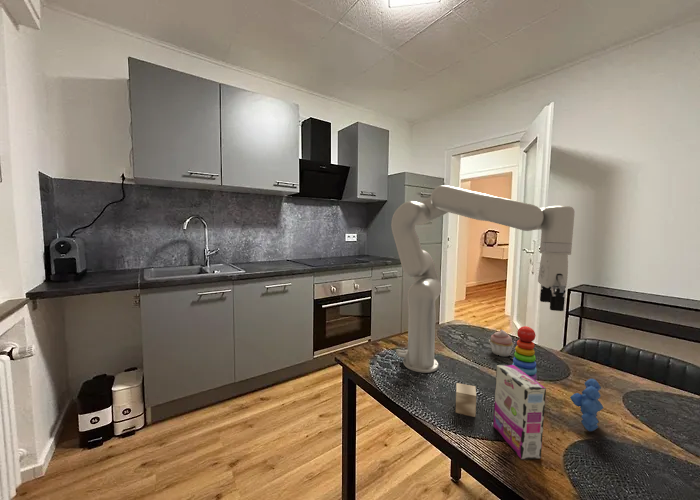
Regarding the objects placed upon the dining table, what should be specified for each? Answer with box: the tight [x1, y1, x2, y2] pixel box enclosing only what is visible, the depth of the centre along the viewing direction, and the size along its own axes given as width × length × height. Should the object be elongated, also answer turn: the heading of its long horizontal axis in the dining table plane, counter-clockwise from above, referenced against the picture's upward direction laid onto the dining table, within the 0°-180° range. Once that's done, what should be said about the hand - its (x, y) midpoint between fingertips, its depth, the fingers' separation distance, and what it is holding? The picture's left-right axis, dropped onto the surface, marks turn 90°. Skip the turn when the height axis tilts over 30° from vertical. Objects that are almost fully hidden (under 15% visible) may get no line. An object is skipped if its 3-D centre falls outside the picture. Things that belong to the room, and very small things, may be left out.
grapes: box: [569, 378, 604, 432], centre depth 75 cm, size 12×7×12 cm, turn 139°
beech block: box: [455, 382, 477, 418], centre depth 81 cm, size 5×5×6 cm
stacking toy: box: [511, 325, 538, 382], centre depth 94 cm, size 8×8×19 cm
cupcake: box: [488, 329, 515, 358], centre depth 117 cm, size 9×9×10 cm
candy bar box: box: [492, 364, 547, 460], centre depth 68 cm, size 11×5×16 cm, turn 5°
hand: (550, 305), depth 86 cm, fingers open, 9 cm apart
